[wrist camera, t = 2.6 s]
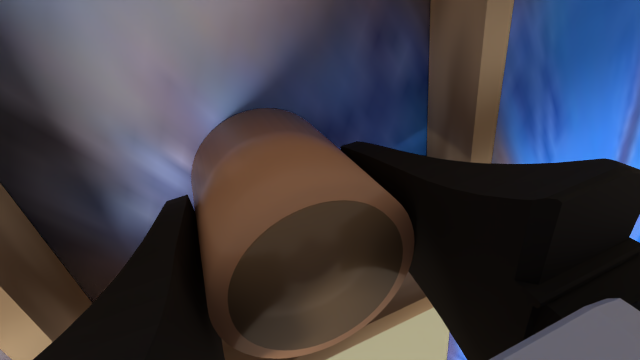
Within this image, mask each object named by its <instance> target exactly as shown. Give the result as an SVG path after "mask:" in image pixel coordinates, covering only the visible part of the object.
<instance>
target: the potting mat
mask: <svg viewBox="0 0 640 360" xmlns="http://www.w3.org/2000/svg"><path fill="white" fill-rule="evenodd" d="M448 340H449V330H448V328H447V327H446V325H445V323H444V322H443V320H442V319H441V317H440V316H439V314H438V313H437V311H436V310H435V308H434V307H433V308H431V309H429V310H427V311H425V312H423V313H421V314H419V315H417V316H415V317H413V318H411V319H409V320H407V321H405V322H403V323H400V324H398V325H396V326H394V327H392V328H390V329H388V330H386V331H384V332H382V333H380V334H378V335H376V336H374V337H372V338H370V339H367V340H365V341H363V342H361V343H359V344H357V345H355V346H353V347H351V348H349V349H347V350H345V351H343V352H341V353H339V354H337V355H334V356H332V357H330V358H328V359H326V360H447V351H448Z"/></svg>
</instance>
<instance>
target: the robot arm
mask: <svg viewBox="0 0 640 360" xmlns="http://www.w3.org/2000/svg"><path fill="white" fill-rule="evenodd" d="M341 151H342V152H343V153H344V154H345V155H346V156H348V157H349V158H350V159H351V160H352V161H353V162H354V163H356V164H357V165H358V166H359V167H360V168H361V169H362V170H363V171H365V172H366V173H367V174H368V175H369V176H370V177H371V178H373V179H374V180H375V181H376V182H377V183H378V184H379V185H380V186H382V187H383V188H384V189H385V190H386V191H387V192H388V193H390V194H391V195H392V196H393V197H394V198H395V199H396V200H397V201H398V202H399V203H400V204H401V205H402V206H403V207H404V209H405V210H406V212H407V213H408V215H409V218H410V220H411V222H412V226H413V230H414V241H415V242H414V253H413V257H412V262H411V265H410V268H409V271H408V272H409V273H410V274H411V276H412V277H413V278H414V280H415V281H416V283H417V284H418V285H419V287H420V288H421V290H422V291H423V292H424V294H425V295H426V297H427V298H428V300H429V301H430V303H431V304H432V306H433V307H434V308H435V310H436V311H437V313H438V314H439V316H440V317H441V319H442V320H443V322H444V323H445V325H446V327H447V328H448V330H449V331H450V333H451V334H452V336H453V338H454V339H455V341H456V342H457V344H458V345H459V347H460V348H461V350H462V352H463V353H464V355H465V357H466V358H467V360H640V243H639V242H637V241H635V240H633V239H631V238H629V236H630V234H631V232H632V230H633V227H634V225H635V223H636V221H637V218H638V216H639V214H640V170H639V169H637V168H634V167H631V166H628V165H626V164H623V163H620V162H617V161H614V160H610V159H594V160H583V161H572V162H561V163H542V164H491V163H473V162H463V161H454V160H446V159H439V158H434V157H428V156H423V155H418V154H413V153H408V152H404V151H400V150H396V149H391V148H387V147H383V146H379V145H375V144H370V143H365V142H358V141H356V142H353V143H350V144H347V145H343V146H341ZM33 360H225V357H224V352H223V346H222V338H221V337H220V336H219V335H218V333H217V332H216V330H215V329H214V327H213V325H212V323H211V320H210V317H209V313H208V307H207V300H206V293H205V285H204V277H203V269H202V262H201V254H200V246H199V238H198V231H197V223H196V215H195V211H194V209H193V206H192V204H191V202H190V199H189V197H188V195H185V196H182V197H179V198H176V199H172V200H169V201H167V202H166V203H165V205H164V207H163V208H162V210H161V212H160V213H159V215H158V217H157V218H156V220H155V222H154V223H153V225H152V227H151V228H150V230H149V232H148V233H147V235H146V236H145V238H144V240H143V241H142V243H141V244H140V245H139V247H138V248H137V250H136V251H135V252H134V254H133V255H132V257H131V258H130V259H129V261H128V262H127V264H126V265H125V266H124V268H123V269H122V270H121V272H120V273H119V274H118V275H117V276H116V278H115V279H114V280H113V281H112V282H111V284H110V285H109V286H108V287H107V288H106V289H105V290H104V292H103V293H102V294H101V295H100V296H99V297H98V298H97V299H96V300H95V301H94V303H93V304H92V305H91V306H90V307H89V308H88V309H86V310H85V311H84V312H83V313H82V314H81V315H80V316H79V317H78V318H77V319H76V320H75V321H74V322H73V323H72V324H71V325H70V326H69V327H68V328H67V329H66V330H65V331H64V332H63V333H62V334H61V335H60V336H59V337H58V338H57V339H56V340H54V341H53V342H52V343H51V344H50V345H49V346H48V347H47V348H45V349H44V350H43V351H42V352H41V353H40V354H39V355H37V356H36V357H35V358H34V359H33Z"/></svg>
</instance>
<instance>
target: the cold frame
mask: <svg viewBox="0 0 640 360" xmlns="http://www.w3.org/2000/svg"><path fill="white" fill-rule="evenodd" d="M513 5H514V0H431V5H430V44H429V84H428V123H427V156H428V157H434V158H439V159H446V160H454V161H463V162H473V163H491V161H492V154H493V146H494V139H495V132H496V125H497V118H498V111H499V104H500V97H501V90H502V83H503V76H504V69H505V61H506V54H507V47H508V40H509V33H510V26H511V19H512V12H513ZM91 305H92V302H91V301H90V300H89V299H88V297H87V296H86V295H85V293H84V292H83V291H82V289H81V288H80V287H79V285H78V284H77V283H76V281H75V280H74V279H73V278H72V276H71V275H70V274H69V272H68V271H67V270H66V268H65V267H64V266H63V264H62V263H61V262H60V261H59V259H58V258H57V257H56V255H55V254H54V253H53V251H52V250H51V249H50V247H49V246H48V245H47V243H46V242H45V241H44V240H43V238H42V237H41V236H40V234H39V233H38V232H37V230H36V229H35V228H34V226H33V225H32V224H31V223H30V221H29V220H28V219H27V217H26V216H25V215H24V213H23V212H22V211H21V209H20V208H19V207H18V206H17V204H16V203H15V202H14V200H13V199H12V198H11V196H10V195H9V194H8V192H7V191H6V190H5V188H4V187H3V186H2V185H1V183H0V349H1V350H2V351H3V352H4V353H5V354H7V355H8V356H9V357H10V358H11V359H12V360H33V359H34V358H35V357H36V356H37V355H39V354H40V353H41V352H42V351H43V350H44V349H45V348H47V347H48V346H49V345H50V344H51V343H52V342H53V341H54V340H56V339H57V338H58V337H59V336H60V335H61V334H62V333H63V332H64V331H65V330H66V329H67V328H68V327H69V326H70V325H71V324H72V323H73V322H74V321H75V320H76V319H77V318H78V317H79V316H80V315H81V314H82V313H83V312H84V311H85V310H86V309H88V308H89V307H90V306H91ZM431 308H433V306H432V304H431V303H430V301H429V300H428V298H427V297H426V295H425V294H424V292H423V291H422V290H421V288H420V287H419V285H418V284H417V283H416V281H415V280H414V278H413V277H412V276H411V274H410V273H409V272H408V273H407V275H406V277H405V279H404V281H403V283H402V285H401V287H400V288H399V290H398V291H397V293H396V294H395V296H394V297H393V298H392V300H391V301H390V302H389V303H388V304H387V306H386V307H385V308H384V309H383V310H382V311H381V312H380V313H379V314H378V315H377V316H376V317H375V318H374V319H373V320H371V321H370V322H369V323H368V324H367V325H366V326H364V327H363V328H361V329H360V330H359V331H357V332H356V333H354V334H353V335H351V336H349V337H348V338H346V339H344V340H342V341H341V342H339V343H337V344H335V345H332V346H330V347H328V348H326V349H323V350H320V351H317V352H314V353H311V354H307V355H303V356H298V357H292V358H281V359H272V358H261V357H255V356H251V355H248V354H245V353H242V352H240V351H238V350H236V349H234V348H233V347H231V346H230V345H229V344H227V343H226V342H225V341H224V340H223V339H222V346H223V352H224V357H225V360H326V359H328V358H330V357H332V356H334V355H337V354H339V353H341V352H343V351H345V350H347V349H349V348H351V347H353V346H355V345H357V344H359V343H361V342H363V341H365V340H367V339H370V338H372V337H374V336H376V335H378V334H380V333H382V332H384V331H386V330H388V329H390V328H392V327H394V326H396V325H398V324H400V323H403V322H405V321H407V320H409V319H411V318H413V317H415V316H417V315H419V314H421V313H423V312H425V311H427V310H429V309H431Z"/></svg>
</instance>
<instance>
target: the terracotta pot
mask: <svg viewBox="0 0 640 360" xmlns="http://www.w3.org/2000/svg"><path fill="white" fill-rule="evenodd" d="M191 184H192V192H193V200H194V207H195V215H196V223H197V231H198V238H199V246H200V254H201V262H202V269H203V277H204V285H205V293H206V300H207V307H208V313H209V317H210V320H211V323H212V325H213V327H214V329H215V330H216V332H217V333H218V335H219V336H220V337H221V338H222V339H223V340H224V341H225V342H226V343H227V344H229V345H230V346H231V347H233V348H234V349H236V350H238V351H240V352H242V353H245V354H248V355H251V356H255V357H261V358H272V359H281V358H292V357H298V356H303V355H307V354H311V353H314V352H317V351H320V350H323V349H326V348H328V347H330V346H332V345H335V344H337V343H339V342H341V341H342V340H344V339H346V338H348V337H349V336H351V335H353V334H354V333H356V332H357V331H359V330H360V329H361V328H363V327H364V326H366V325H367V324H368V323H369V322H370V321H371V320H373V319H374V318H375V317H376V316H377V315H378V314H379V313H380V312H381V311H382V310H383V309H384V308H385V307H386V306H387V304H388V303H389V302H390V301H391V300H392V298H393V297H394V296H395V294H396V293H397V291H398V290H399V288H400V287H401V285H402V283H403V281H404V279H405V277H406V275H407V273H408V271H409V268H410V265H411V262H412V257H413V253H414V242H415V241H414V230H413V226H412V222H411V220H410V218H409V215H408V213H407V212H406V210H405V209H404V207H403V206H402V205H401V204H400V203H399V202H398V201H397V200H396V199H395V198H394V197H393V196H392V195H391V194H390V193H388V192H387V191H386V190H385V189H384V188H383V187H382V186H380V185H379V184H378V183H377V182H376V181H375V180H374V179H373V178H371V177H370V176H369V175H368V174H367V173H366V172H365V171H363V170H362V169H361V168H360V167H359V166H358V165H357V164H356V163H354V162H353V161H352V160H351V159H350V158H349V157H348V156H346V155H345V154H344V153H343V152H342V151H341V150H340V149H339V148H337V147H336V146H335V145H334V144H333V143H332V142H331V141H329V140H328V139H327V138H326V137H325V136H324V135H323V134H322V133H320V132H319V131H318V130H317V129H316V128H315V127H314V126H312V125H311V124H310V123H309V122H308V121H306V120H305V119H303V118H302V117H300V116H298V115H296V114H294V113H292V112H289V111H286V110H281V109H276V108H259V109H253V110H248V111H244V112H241V113H238V114H236V115H234V116H232V117H230V118H228V119H226V120H225V121H223V122H222V123H220V124H219V125H218V126H217V127H215V128H214V129H213V130H212V131H211V132H210V133H209V134H208V136H207V137H206V138H205V139H204V141H203V142H202V144H201V145H200V147H199V149H198V151H197V153H196V155H195V158H194V161H193V165H192V171H191Z"/></svg>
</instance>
